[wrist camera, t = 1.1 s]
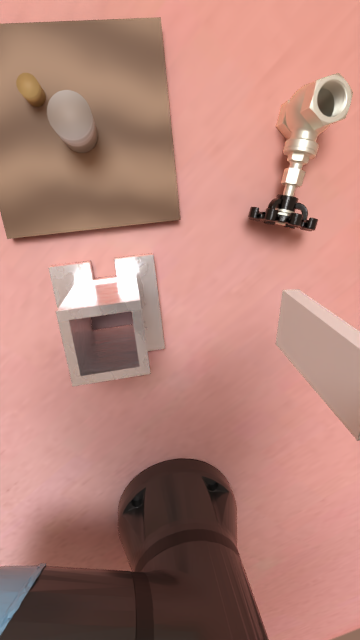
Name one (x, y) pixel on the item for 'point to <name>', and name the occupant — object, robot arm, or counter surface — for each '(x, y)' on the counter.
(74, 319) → the white hollow block
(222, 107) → the counter surface
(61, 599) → the robot arm
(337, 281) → the counter surface
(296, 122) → the valve
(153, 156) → the base board
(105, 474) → the counter surface
